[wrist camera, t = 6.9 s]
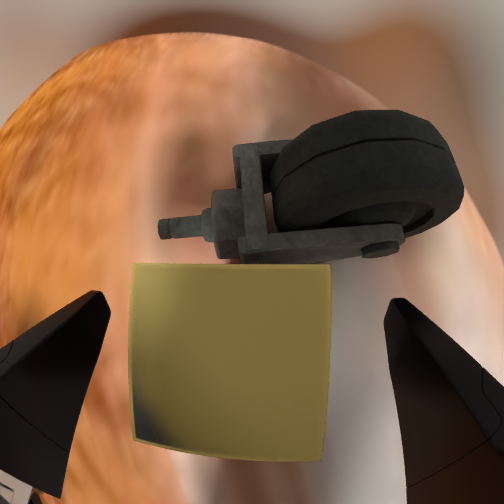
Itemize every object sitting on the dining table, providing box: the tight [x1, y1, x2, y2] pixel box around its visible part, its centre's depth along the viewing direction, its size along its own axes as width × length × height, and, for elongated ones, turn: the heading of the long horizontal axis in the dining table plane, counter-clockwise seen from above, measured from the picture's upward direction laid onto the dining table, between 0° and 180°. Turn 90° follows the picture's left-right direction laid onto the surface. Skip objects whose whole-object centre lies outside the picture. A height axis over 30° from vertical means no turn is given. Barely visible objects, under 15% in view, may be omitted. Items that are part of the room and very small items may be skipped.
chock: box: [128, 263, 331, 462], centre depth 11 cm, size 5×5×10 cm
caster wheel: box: [158, 110, 464, 264], centre depth 12 cm, size 6×10×15 cm
